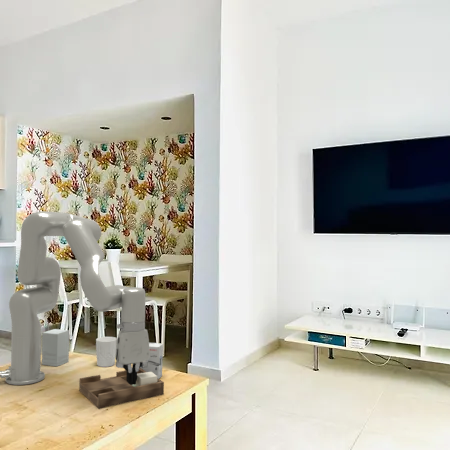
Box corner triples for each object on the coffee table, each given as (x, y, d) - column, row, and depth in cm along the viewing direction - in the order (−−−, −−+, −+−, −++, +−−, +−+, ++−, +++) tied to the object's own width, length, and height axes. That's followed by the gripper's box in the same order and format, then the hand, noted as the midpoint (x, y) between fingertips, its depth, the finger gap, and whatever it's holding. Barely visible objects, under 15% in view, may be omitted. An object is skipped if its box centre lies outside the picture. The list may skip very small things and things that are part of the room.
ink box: (135, 378, 161) (136, 345, 161) (140, 373, 166) (140, 342, 166) (158, 380, 160) (159, 346, 160) (162, 375, 165) (163, 343, 165)
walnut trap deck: (99, 408, 133) (99, 395, 133) (79, 390, 148) (79, 378, 148) (163, 394, 146) (163, 382, 146) (139, 379, 160) (139, 367, 160)
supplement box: (69, 361, 179) (70, 330, 179) (56, 367, 172) (57, 333, 172) (54, 359, 182) (54, 328, 182) (41, 364, 175) (41, 332, 175)
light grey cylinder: (97, 368, 171) (98, 342, 172) (93, 362, 178) (94, 337, 179) (118, 366, 175) (118, 340, 175) (113, 360, 182) (114, 335, 182)
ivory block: (140, 389, 143) (141, 378, 143) (135, 384, 147) (135, 373, 147) (157, 387, 145) (157, 376, 145) (151, 382, 150) (151, 371, 150)
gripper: (115, 331, 137) (113, 391, 137) (159, 325, 146) (157, 382, 146) (106, 326, 143) (104, 384, 143) (148, 321, 152) (147, 376, 152)
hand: (131, 383), depth 144 cm, fingers closed
